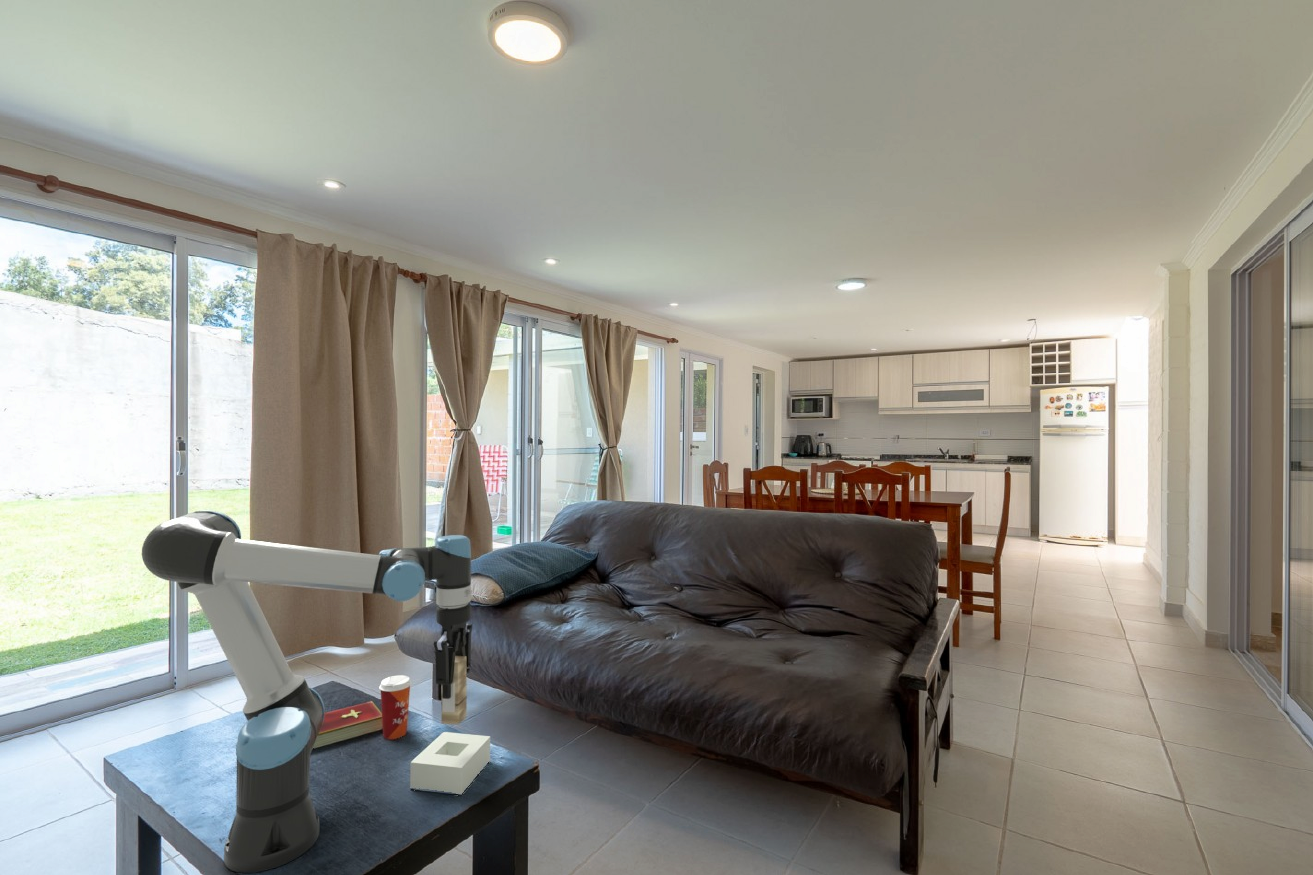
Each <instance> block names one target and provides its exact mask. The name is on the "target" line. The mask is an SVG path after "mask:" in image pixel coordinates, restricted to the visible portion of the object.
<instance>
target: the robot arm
mask: <svg viewBox="0 0 1313 875" xmlns="http://www.w3.org/2000/svg"><path fill="white" fill-rule="evenodd" d="M435 542H436V543H435V545H432V546H427V547H426V546H424V547H422V546H421V547H403V548H400V547H399V548H398V547H395V548H390V549H383V550H380V552H379V553H378V554H372V553H371V554H370V553H364V552H363V553H361V552H353V551H346V550H345V551H344V550H336V549H328V548H319V547H311V546H310V547H309V546H302V545H294V544H286V543H285V544H284V543H275V542H267V541H259V540H252V539H251V540H250V539H242V533H241V530H240V526H239V525H238V524H237V522H236V521H235V520H233V518H231V517H230V516H228V515H226V514H225V513H222V512H219V511H214V510H199V511H198V510H197V511H196V510H195V511H194V512H189V513H186V514H184V515H182V516H178V517H175V518H172V519H169V520H166V521H164V522H162V523H159V525H157V526H156V527H155V528H153V529H152V530H151V531H150V532H149V533H148V535H147V536H146V538H145V539H144V541H143V542H142V543H143V544H142V547H141V558H142V561H143V563H144V566H145V567H146V568H147V570H148V571H149V572H150V573H151V574H152V575H153V576H156V577H157V578H160V579H162V580H165V581H169V582H175V583H177V584H178V586H179V588H180V590H181V591H183V592H186V593H191V594H193V595H194V596H195V597H196V600H197V601H198V604H199V606H200V607H201V610H202V612H203V614H204V616H205V618H206V620H207V621H208V623H209V625H210V628H211V629H212V631H213V633H214V636H215V637H216V639H217V641H218V644H219V645H220V647H221V649H222V651H223V653H224V655H225V658H226V659H227V661H228V663H229V665H230V668H231V669H232V672H233V673H234V675H235V678H236V679H237V682H238V683H239V685H240V687H241V690H242V691H243V694H244V695H245V697H246V700H245V701H246V702H245V704H244V705H243V708H242V713H243V715H244V716H245V719H246V720H247V721H246V723H244V725H243V726H242V727H241V729H240V730H239V733H238V736H237V742H236V744H235V755H236V756H235V757H236V792H235V793H236V797H235V798H236V799H235V800H236V803H235V804H236V806H235V808H236V809H235V815H234V819H233V822H232V824H231V827H230V828H229V829H230V830H229V833H228V836H227V839H226V840H225V842H224V843H225V844H224V849H223V863H224V866H225V867H226V868H227V869H229V870H230V871H233V872H236V873H242V874H243V873H244V874H249V873H251V874H252V873H253V874H254V873H259V872H265V871H268V870H272V869H275V868H278V867H281V866H283V865H285V864H288V863H290V862H292V861H294V860H295V859H297V858H299V857H300V856H302V855H304V854H305V853H306V852H308V851H309V850H310V849H311V848H312V847H313V846H314V844H315V843H316V842H317V840H318V838H319V835H320V818H319V814H318V813H317V812H316V811H315V806H314V803H313V800H312V797H311V795H310V776H311V774H310V772H311V770H310V768H311V754H312V751H313V749H312V748H313V746H314V743H315V741H316V738H317V736H318V733H319V731H320V729H321V726H322V724H323V720H324V713H325V703H324V701H323V699H322V697H321V695H320V694H319V693H318V691H317V690H315V689H314V688H312V687H309V685H308V683H307V680H306V678H305V677H304V675H298V674H294V673H293V671H292V670H291V667H290V665H289V664H288V662H287V659H286V658H285V655H284V653H283V651H282V649H281V647H280V645H279V644H278V641H277V639H276V637H275V634H274V633H273V631H272V628H271V627H270V625H269V622H268V621H267V619H266V617H265V614H264V612H263V610H262V608H261V606H260V604H259V602H258V600H257V598H256V596H255V594H254V592H253V590H252V588H251V586H250V583H256V584H265V585H267V584H268V585H276V586H278V585H279V586H288V587H297V588H298V587H299V588H306V589H307V588H308V589H320V590H321V589H322V590H332V591H343V592H352V593H363V594H373V595H376V594H377V595H383V596H387V597H389V599H392V600H393V601H397V602H407V601H410V600H412V599H414V598H416V597H417V596H418V594H419V593H421V591H422V589H423V586H424V585H425V582H427V581H434V580H435V581H436V583H435V584H436V587H435V588H436V594H435V595H436V599H435V600H436V601H435V603H436V605H437V607H436V609H435V610H436V612H435V614H436V616H435V618H436V620H435V621H436V623H437V624H438V625H440V626H441V633H440V638H439V640H437V639H436V640H434V641H433V647H434V651H435V683H436V684H437V685H441V684H442V707H441V713H442V712H455V682H453V675H454V664H455V656H466V674H469V673H470V672H471V671H470V670H471V668H470V666H471V664H472V663H471V661H472V659H471V658H472V657H471V656H472V631H473V624H472V623H468V622H469V621H470V620H471V619H472V605H471V603H470V602H471V601H472V594H473V591H472V551H471V549H472V548H471V540H470V538H469V537H468V536H465V535H462V534H455V535H454V534H450V535H443V536H439V537H437V539H436V541H435Z"/></svg>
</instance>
